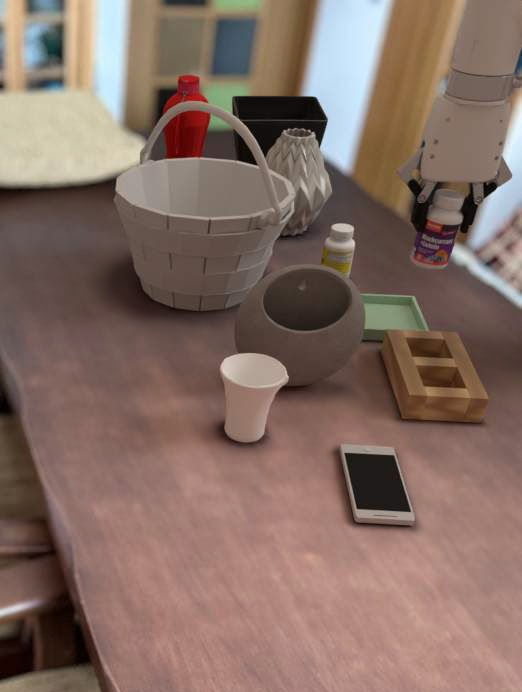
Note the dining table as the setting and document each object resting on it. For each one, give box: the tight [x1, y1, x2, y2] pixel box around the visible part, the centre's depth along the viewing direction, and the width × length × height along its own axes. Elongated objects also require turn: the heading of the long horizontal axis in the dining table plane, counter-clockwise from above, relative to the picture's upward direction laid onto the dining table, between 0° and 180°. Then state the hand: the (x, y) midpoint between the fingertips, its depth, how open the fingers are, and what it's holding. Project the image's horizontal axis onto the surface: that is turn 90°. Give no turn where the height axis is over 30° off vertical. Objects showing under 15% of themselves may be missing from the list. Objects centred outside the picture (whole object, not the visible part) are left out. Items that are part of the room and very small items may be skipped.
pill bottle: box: [409, 188, 466, 270], centre depth 115 cm, size 5×5×10 cm
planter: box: [233, 263, 366, 387], centre depth 118 cm, size 18×7×19 cm, turn 87°
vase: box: [265, 128, 333, 237], centre depth 164 cm, size 16×16×18 cm
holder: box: [380, 329, 490, 424], centre depth 123 cm, size 11×20×4 cm, turn 176°
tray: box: [360, 293, 430, 342], centre depth 139 cm, size 17×13×2 cm
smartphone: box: [339, 443, 416, 526], centre depth 105 cm, size 7×16×1 cm, turn 176°
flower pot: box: [231, 95, 329, 166], centre depth 183 cm, size 19×19×17 cm
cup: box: [219, 353, 289, 443], centre depth 111 cm, size 9×9×10 cm
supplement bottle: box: [320, 223, 356, 279], centre depth 149 cm, size 5×5×10 cm
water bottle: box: [162, 74, 212, 159], centre depth 171 cm, size 9×11×25 cm
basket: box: [113, 101, 296, 312], centre depth 139 cm, size 31×35×30 cm
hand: (439, 227), depth 115 cm, fingers closed on pill bottle, 5 cm apart
